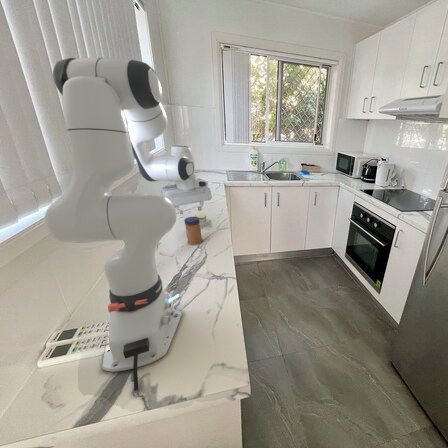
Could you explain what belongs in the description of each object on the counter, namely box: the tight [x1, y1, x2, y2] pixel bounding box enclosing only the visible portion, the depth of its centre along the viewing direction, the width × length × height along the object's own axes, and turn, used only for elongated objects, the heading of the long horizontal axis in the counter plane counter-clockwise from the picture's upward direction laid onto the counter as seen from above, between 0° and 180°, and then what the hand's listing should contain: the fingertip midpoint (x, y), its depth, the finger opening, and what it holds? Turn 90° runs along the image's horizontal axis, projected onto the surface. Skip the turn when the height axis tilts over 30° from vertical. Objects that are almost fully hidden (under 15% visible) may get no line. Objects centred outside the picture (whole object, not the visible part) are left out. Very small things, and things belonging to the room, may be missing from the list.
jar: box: [184, 222, 203, 246], centre depth 117 cm, size 6×6×12 cm
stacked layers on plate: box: [194, 212, 211, 229], centre depth 138 cm, size 10×9×6 cm
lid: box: [183, 216, 200, 225], centre depth 115 cm, size 7×6×2 cm
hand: (190, 212), depth 114 cm, fingers open, 7 cm apart
